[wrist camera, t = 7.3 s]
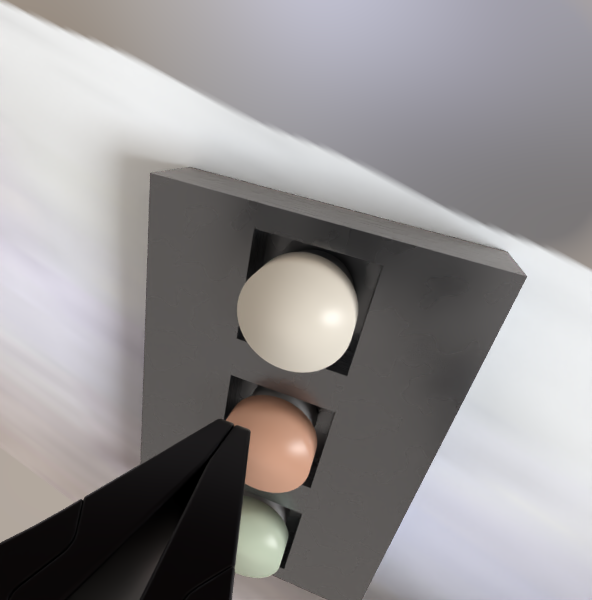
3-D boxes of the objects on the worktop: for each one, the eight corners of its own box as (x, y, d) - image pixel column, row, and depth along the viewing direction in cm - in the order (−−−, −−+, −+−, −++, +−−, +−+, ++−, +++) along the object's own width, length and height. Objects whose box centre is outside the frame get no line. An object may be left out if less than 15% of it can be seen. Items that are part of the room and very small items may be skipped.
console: (507, 251, 15) (527, 276, 13) (361, 559, 24) (355, 611, 22) (190, 167, 17) (150, 172, 15) (166, 478, 27) (138, 516, 24)
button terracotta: (334, 391, 19) (320, 436, 16) (314, 454, 20) (298, 506, 18) (250, 361, 19) (222, 400, 16) (238, 426, 21) (211, 470, 18)
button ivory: (377, 256, 16) (368, 283, 13) (348, 346, 17) (336, 387, 15) (275, 228, 16) (246, 247, 13) (258, 317, 18) (230, 350, 15)
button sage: (304, 487, 22) (287, 540, 19) (289, 534, 24) (272, 589, 21) (232, 458, 22) (206, 505, 20) (223, 507, 24) (198, 556, 21)
